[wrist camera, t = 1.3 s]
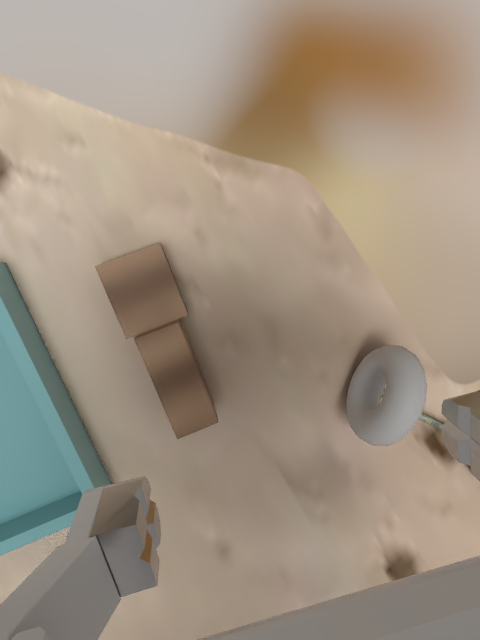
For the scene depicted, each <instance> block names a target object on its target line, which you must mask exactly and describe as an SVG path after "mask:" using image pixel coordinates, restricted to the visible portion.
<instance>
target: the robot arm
mask: <svg viewBox="0 0 480 640" xmlns="http://www.w3.org/2000/svg"><path fill="white" fill-rule="evenodd" d="M442 414H443V415H444V416H445V417H446V418H447V420H446V422H445V424H444V425H443V427H442V434H443V440H444V443H445V445H446V448H447V449H448V451H449V452H450V454H451V455H452V456H453V457H454V458H455V459H456V460H457V461H458V462H460V463H463V464H466V465H469V466H470V468H471V474H472V475H473V476H475V477H476V478H477V479H478V480H479V481H480V390H478V391H476V392H472V393H469V394H465V395H461V396H457V397H453V398H449V399H446V400H444V401H443V403H442ZM150 493H151V488H150V485H149V482H148V480H147V478H146V477H145V476H144V477H140V478H136V479H131V480H127V481H123V482H119V483H114V484H110V485H106V486H102V487H98V488H94V489H90V490H86V491H85V492H84V493H83V494H82V497H81V499H80V502H79V505H78V508H77V511H76V514H75V517H74V519H73V522H72V525H71V528H70V531H69V534H68V536H67V539H66V542H65V544H64V545H60V546H58V547H57V548H56V549H55V550H54V551H53V552H52V553H51V554H50V555H49V556H48V557H47V558H46V559H45V560H44V561H43V562H42V563H41V564H40V565H39V566H38V567H37V568H36V569H35V570H34V571H33V572H32V573H31V574H30V575H29V576H28V577H27V578H26V579H25V581H24V582H23V583H22V584H21V585H20V586H19V587H18V588H17V589H16V590H15V591H14V592H13V593H12V594H11V595H10V596H9V597H8V598H7V599H6V600H5V601H4V602H3V603H2V604H1V605H0V640H97V639H98V638H99V636H100V634H101V632H102V631H103V629H104V627H105V626H106V624H107V622H108V621H109V619H110V617H111V615H112V614H113V612H114V610H115V609H116V607H117V605H118V604H119V602H120V600H121V598H120V597H123V596H126V595H129V594H132V593H135V592H139V591H142V590H145V589H148V588H151V587H154V586H157V585H158V571H159V557H158V554H157V551H156V549H157V547H158V546H159V544H160V539H161V529H160V519H159V514H158V510H157V507H156V503H154V502H153V501H151V500H150ZM197 640H480V556H477V557H473V558H470V559H466V560H463V561H460V562H456V563H453V564H450V565H446V566H443V567H439V568H436V569H433V570H429V571H426V572H423V573H419V574H416V575H412V576H409V577H406V578H402V579H399V580H396V581H392V582H389V583H385V584H382V585H379V586H375V587H372V588H369V589H365V590H362V591H359V592H355V593H352V594H348V595H345V596H342V597H338V598H335V599H332V600H328V601H325V602H322V603H318V604H315V605H312V606H308V607H305V608H301V609H298V610H295V611H291V612H288V613H285V614H281V615H278V616H275V617H271V618H268V619H265V620H261V621H258V622H255V623H251V624H248V625H245V626H241V627H238V628H234V629H231V630H228V631H224V632H221V633H218V634H214V635H211V636H208V637H204V638H201V639H197Z"/></svg>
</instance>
